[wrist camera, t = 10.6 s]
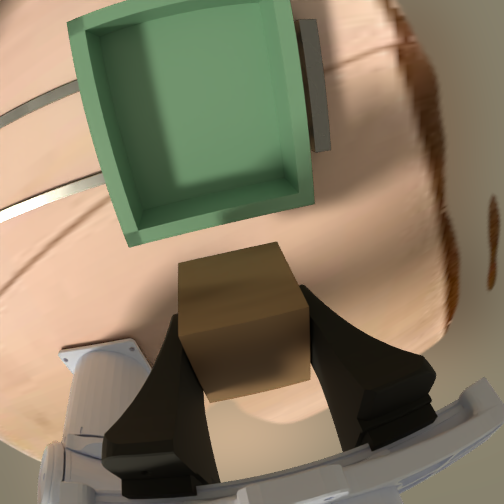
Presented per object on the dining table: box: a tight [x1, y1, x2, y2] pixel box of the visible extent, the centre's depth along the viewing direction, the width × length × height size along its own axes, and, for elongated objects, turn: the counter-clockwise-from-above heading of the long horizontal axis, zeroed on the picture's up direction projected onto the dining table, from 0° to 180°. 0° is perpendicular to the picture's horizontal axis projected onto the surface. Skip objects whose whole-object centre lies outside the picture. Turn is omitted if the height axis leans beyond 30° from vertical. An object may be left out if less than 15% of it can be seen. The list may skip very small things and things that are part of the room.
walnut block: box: [178, 242, 310, 403], centre depth 13 cm, size 4×4×4 cm
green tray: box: [67, 0, 315, 247], centre depth 15 cm, size 12×10×4 cm
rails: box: [0, 19, 331, 222], centre depth 15 cm, size 8×23×2 cm, turn 99°
